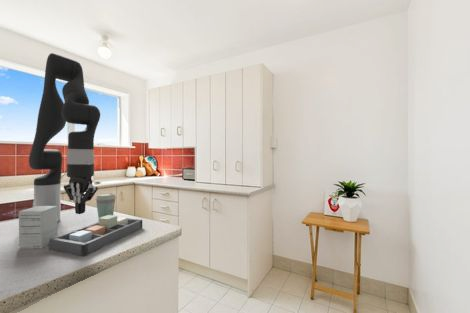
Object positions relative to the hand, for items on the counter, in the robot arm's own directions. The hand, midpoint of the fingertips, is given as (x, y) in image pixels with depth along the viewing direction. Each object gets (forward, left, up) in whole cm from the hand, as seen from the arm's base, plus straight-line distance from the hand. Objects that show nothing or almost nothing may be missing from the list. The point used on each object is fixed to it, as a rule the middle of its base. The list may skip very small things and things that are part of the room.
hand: (80, 213), depth 72 cm
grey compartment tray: (0, +8, -12) cm, 14 cm away
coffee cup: (-17, +26, -12) cm, 34 cm away
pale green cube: (0, +11, -8) cm, 14 cm away
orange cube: (0, +6, -10) cm, 12 cm away
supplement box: (-15, -3, -12) cm, 19 cm away
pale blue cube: (0, 0, -10) cm, 10 cm away
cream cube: (0, +17, -10) cm, 20 cm away
